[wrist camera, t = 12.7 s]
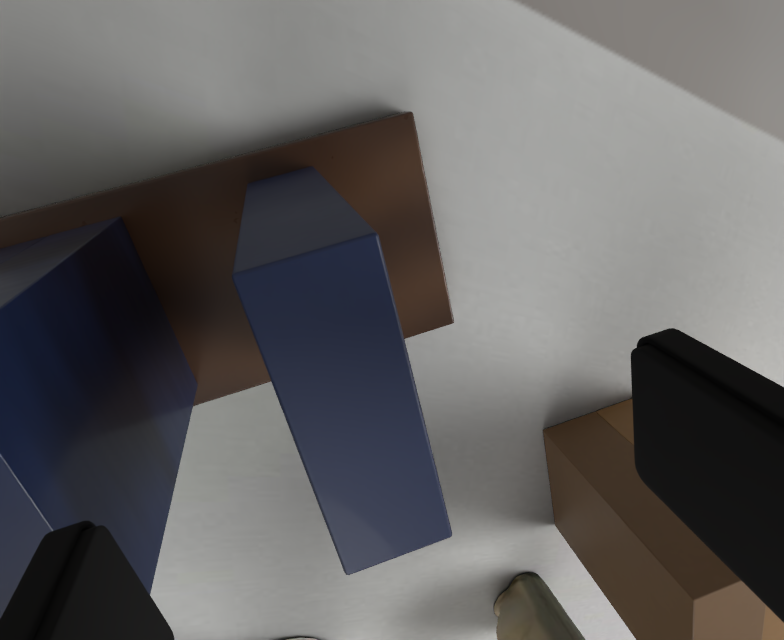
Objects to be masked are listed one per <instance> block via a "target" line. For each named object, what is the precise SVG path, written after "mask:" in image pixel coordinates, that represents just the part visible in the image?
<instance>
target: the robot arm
mask: <svg viewBox="0 0 784 640" xmlns="http://www.w3.org/2000/svg"><path fill="white" fill-rule="evenodd" d="M631 375H632V403H633V430H634V458H635V467H636V470H637V473H638V475H639V477H640V478H641V480H642V481H643V482H644V483H645V485H646V486H647V487H648V488H649V489H650V490H651V491H652V492H653V493H654V494H655V495H656V496H657V497H658V498H659V499H660V500H661V501H662V502H663V503H664V504H665V505H666V506H667V507H668V508H669V509H670V510H671V511H672V512H673V513H674V514H675V515H676V516H677V517H678V518H679V519H680V520H681V521H682V522H683V523H684V524H685V525H686V526H687V527H688V528H689V529H690V530H691V531H692V532H693V533H694V534H695V535H696V536H697V537H698V538H699V539H700V540H701V541H702V542H703V543H704V544H705V545H706V546H707V547H708V548H709V549H710V550H711V551H712V552H713V553H714V554H715V555H716V556H717V557H718V558H719V559H720V560H721V561H722V562H723V563H724V564H725V565H726V566H727V567H728V568H729V569H730V570H731V571H732V572H733V573H734V574H735V575H736V576H737V577H738V578H739V579H740V580H741V581H742V582H743V583H744V584H745V585H746V586H747V587H748V588H749V589H750V590H751V591H752V592H753V593H754V594H755V595H756V596H757V597H758V598H759V599H760V600H761V601H762V602H763V603H764V604H765V605H766V606H767V607H768V608H769V609H770V610H771V611H772V612H773V613H774V614H775V615H776V616H777V617H778V618H779V619H780V620H781V621H782V622H783V623H784V387H782V386H780V385H779V384H777V383H775V382H773V381H771V380H769V379H768V378H766V377H764V376H762V375H760V374H758V373H756V372H755V371H753V370H751V369H749V368H747V367H745V366H744V365H742V364H740V363H738V362H736V361H734V360H733V359H731V358H729V357H727V356H725V355H723V354H722V353H720V352H718V351H716V350H714V349H712V348H710V347H709V346H707V345H705V344H703V343H701V342H699V341H698V340H696V339H694V338H692V337H690V336H688V335H687V334H685V333H683V332H681V331H679V330H677V329H674V328H672V329H667V330H664V331H661V332H658V333H654V334H651V335H648V336H645V337H642V338H641V339H640V340H639V341H638V343H637V348H635V349H634V350H633V351H632V353H631ZM0 640H174V636H173V632H172V630H171V628H170V626H169V625H168V623H167V622H166V620H165V618H164V617H163V615H162V614H161V612H160V611H159V609H158V607H157V606H156V604H155V603H154V601H153V599H152V598H151V596H150V595H149V593H148V592H147V590H146V588H145V587H144V585H143V584H142V582H141V580H140V579H139V577H138V576H137V574H136V573H135V571H134V569H133V568H132V566H131V565H130V563H129V561H128V560H127V558H126V557H125V555H124V554H123V552H122V550H121V549H120V547H119V546H118V544H117V542H116V541H115V539H114V538H113V536H112V535H111V533H110V531H109V530H108V529H107V528H106V527H105V526H103V525H99V526H95V524H94V523H92V522H91V521H82V522H79V523H76V524H73V525H70V526H67V527H63V528H60V529H57V530H54V531H51V532H49V533H47V534H46V535H45V536H44V537H43V539H42V540H41V542H40V544H39V546H38V548H37V550H36V552H35V553H34V555H33V557H32V559H31V561H30V563H29V565H28V567H27V569H26V571H25V573H24V574H23V576H22V578H21V580H20V582H19V584H18V586H17V588H16V590H15V592H14V594H13V596H12V597H11V599H10V601H9V603H8V605H7V607H6V609H5V611H4V613H3V615H2V617H1V619H0Z"/></svg>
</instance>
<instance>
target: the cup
mask: <svg viewBox="0 0 784 640" xmlns="http://www.w3.org/2000/svg"><path fill="white" fill-rule="evenodd" d="M287 640H317V639H314V638H295V639H287Z"/></svg>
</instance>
